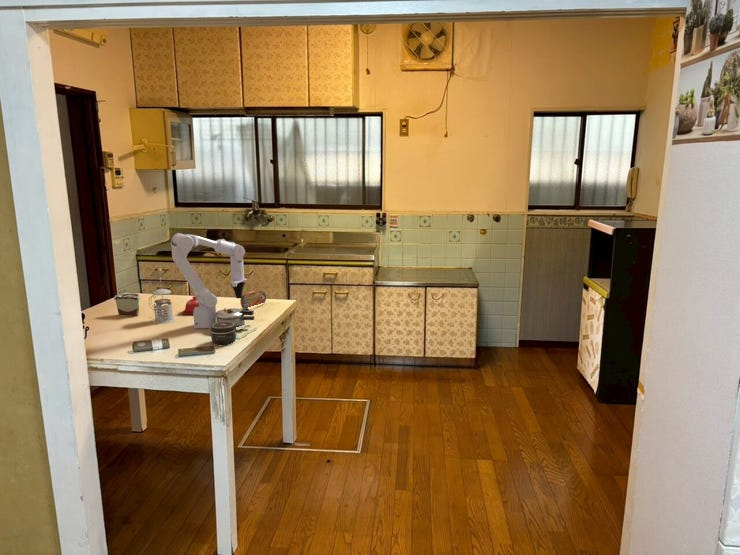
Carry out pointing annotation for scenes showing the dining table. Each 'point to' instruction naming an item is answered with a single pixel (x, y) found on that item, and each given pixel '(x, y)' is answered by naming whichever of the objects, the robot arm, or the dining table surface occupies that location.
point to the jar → (223, 333)
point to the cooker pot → (237, 320)
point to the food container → (127, 304)
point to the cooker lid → (232, 313)
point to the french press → (162, 307)
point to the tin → (252, 298)
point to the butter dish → (191, 306)
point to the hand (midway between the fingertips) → (239, 298)
